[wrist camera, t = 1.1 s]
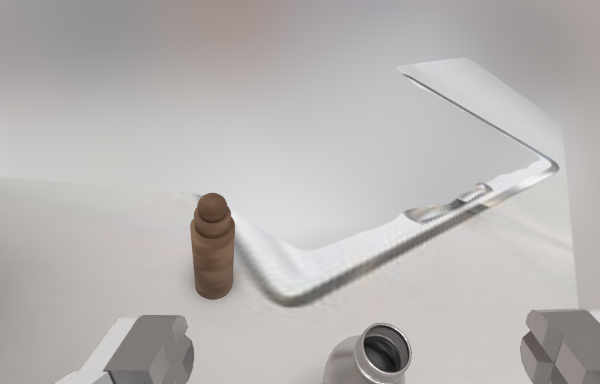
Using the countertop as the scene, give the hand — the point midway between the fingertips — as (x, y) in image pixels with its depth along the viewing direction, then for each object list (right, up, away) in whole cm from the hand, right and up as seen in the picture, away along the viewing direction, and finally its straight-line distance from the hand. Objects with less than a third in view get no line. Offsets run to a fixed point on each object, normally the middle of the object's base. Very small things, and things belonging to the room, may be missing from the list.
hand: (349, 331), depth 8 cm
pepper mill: (-13, -9, +40) cm, 43 cm away
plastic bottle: (+2, -22, +29) cm, 37 cm away
